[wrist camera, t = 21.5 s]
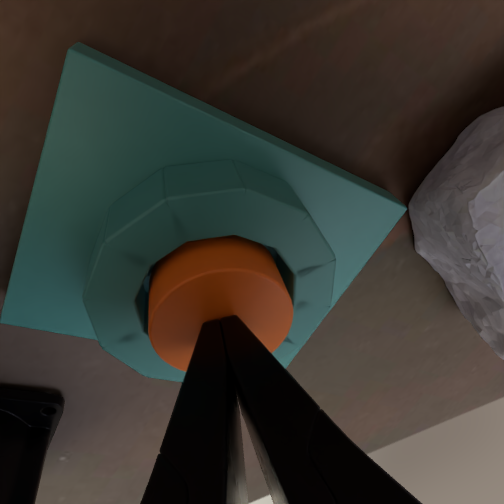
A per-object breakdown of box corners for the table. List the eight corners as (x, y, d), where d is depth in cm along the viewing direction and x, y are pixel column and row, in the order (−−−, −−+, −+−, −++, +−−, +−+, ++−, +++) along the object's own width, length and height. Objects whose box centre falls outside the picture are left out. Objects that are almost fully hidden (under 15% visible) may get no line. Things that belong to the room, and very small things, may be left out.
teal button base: (390, 191, 13) (444, 239, 11) (274, 350, 16) (296, 413, 14) (77, 40, 9) (48, 61, 6) (10, 296, 12) (-25, 374, 10)
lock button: (298, 251, 11) (320, 291, 9) (241, 338, 12) (253, 383, 11) (178, 210, 9) (183, 251, 8) (130, 315, 11) (127, 365, 9)
